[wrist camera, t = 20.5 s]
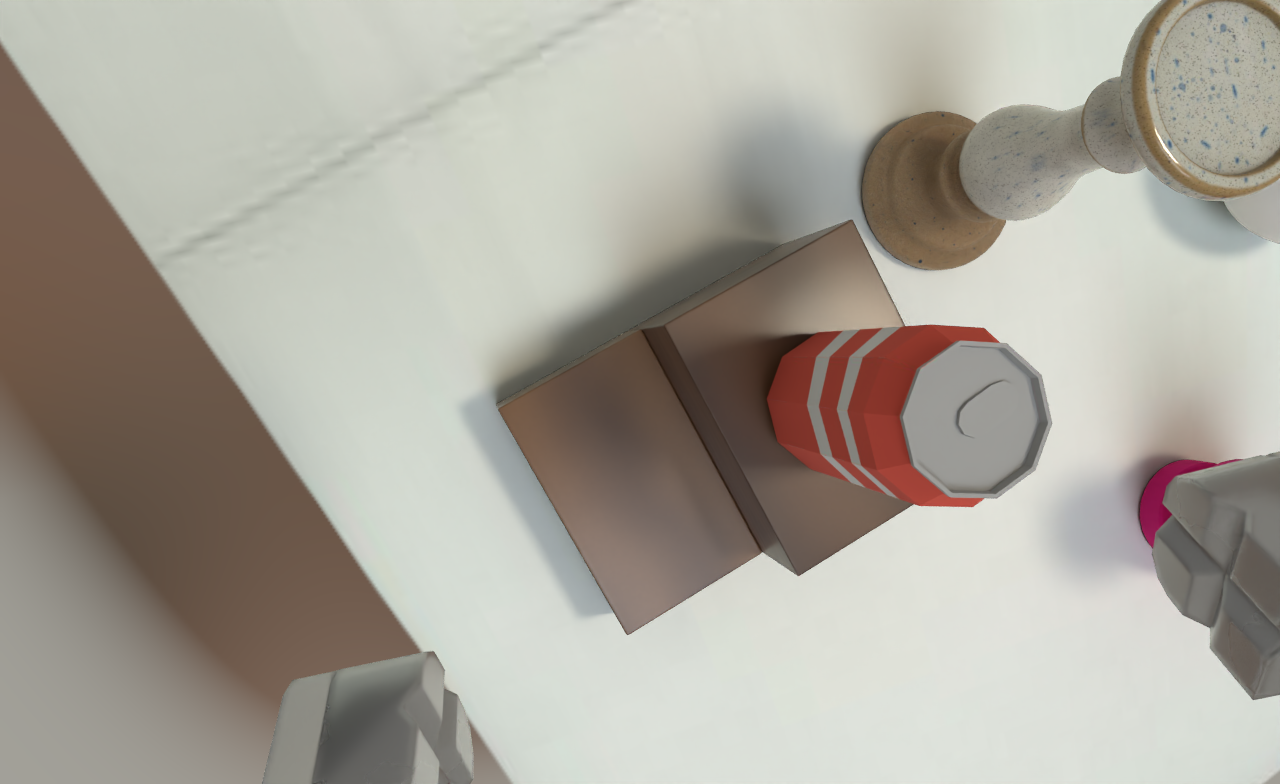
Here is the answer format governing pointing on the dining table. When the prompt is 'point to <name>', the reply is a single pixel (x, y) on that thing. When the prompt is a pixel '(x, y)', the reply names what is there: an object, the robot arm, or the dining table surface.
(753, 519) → the step shelf
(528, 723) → the dining table surface
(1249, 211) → the ornament
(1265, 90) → the candle holder
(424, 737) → the robot arm
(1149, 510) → the pepper mill
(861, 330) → the beverage can
